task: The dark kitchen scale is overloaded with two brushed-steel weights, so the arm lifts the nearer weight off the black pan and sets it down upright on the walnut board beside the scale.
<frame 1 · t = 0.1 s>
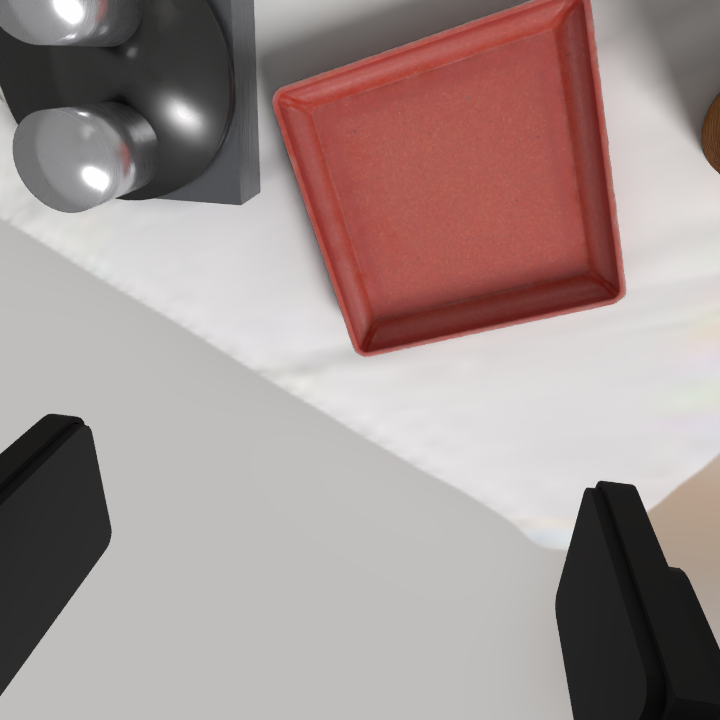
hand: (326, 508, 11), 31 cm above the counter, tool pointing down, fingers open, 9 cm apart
plant saucer: (454, 189, 39), on the counter
scale: (150, 72, 38), on the counter
steel weight b: (119, 147, 35), point 5 cm above the counter, touching scale
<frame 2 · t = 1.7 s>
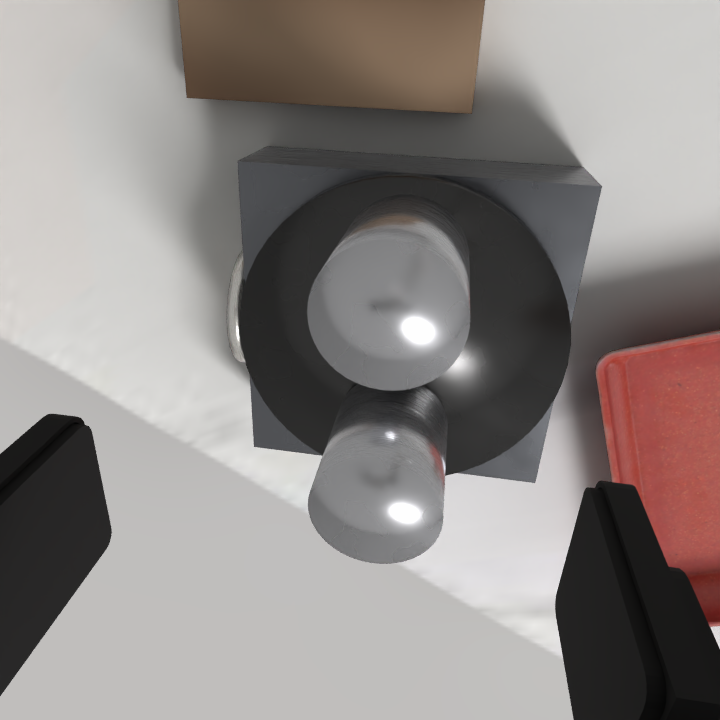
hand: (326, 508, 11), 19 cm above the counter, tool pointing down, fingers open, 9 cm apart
scale: (408, 302, 30), on the counter
steel weight b: (392, 423, 27), point 5 cm above the counter, touching scale
steel weight a: (404, 258, 23), point 5 cm above the counter, touching scale
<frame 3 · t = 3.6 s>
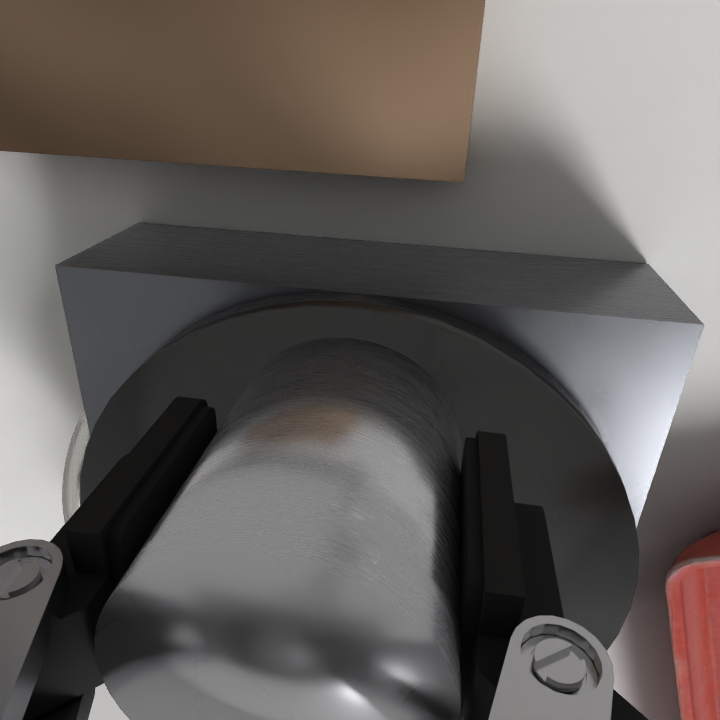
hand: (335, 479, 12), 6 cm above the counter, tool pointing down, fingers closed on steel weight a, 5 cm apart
scale: (369, 451, 19), on the counter
steel weight a: (347, 439, 13), point 5 cm above the counter, touching gripper, scale
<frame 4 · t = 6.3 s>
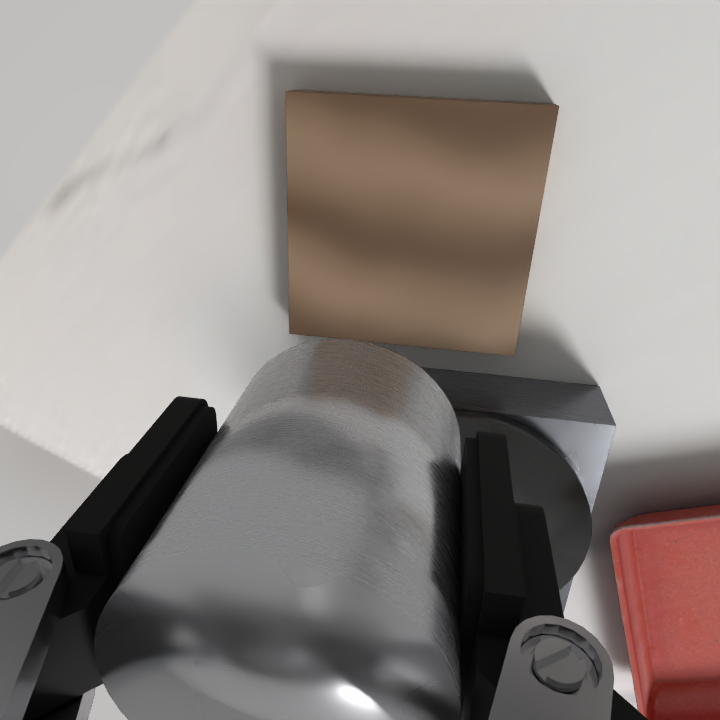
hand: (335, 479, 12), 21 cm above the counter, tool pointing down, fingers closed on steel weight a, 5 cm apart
scale: (456, 472, 37), on the counter
walnut board: (410, 225, 30), on the counter
steel weight a: (346, 440, 13), point 19 cm above the counter, touching gripper
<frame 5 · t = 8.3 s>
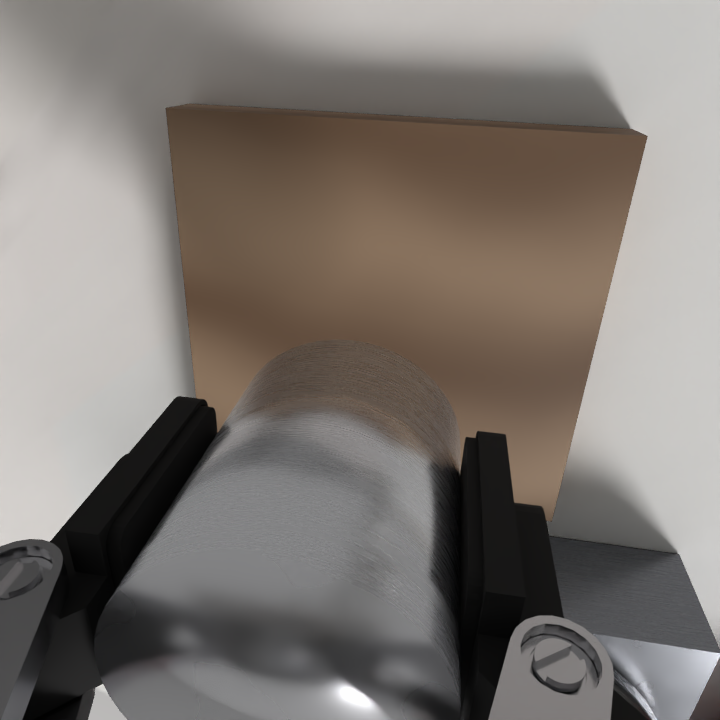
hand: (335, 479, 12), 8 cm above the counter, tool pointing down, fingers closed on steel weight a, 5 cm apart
scale: (459, 650, 25), on the counter
walnut board: (387, 319, 19), on the counter
steel weight a: (346, 441, 13), point 6 cm above the counter, touching gripper
when the fingers open (4 cm above the counter, at t = 9.5 s): steel weight a drops 1 cm, resting on walnut board.
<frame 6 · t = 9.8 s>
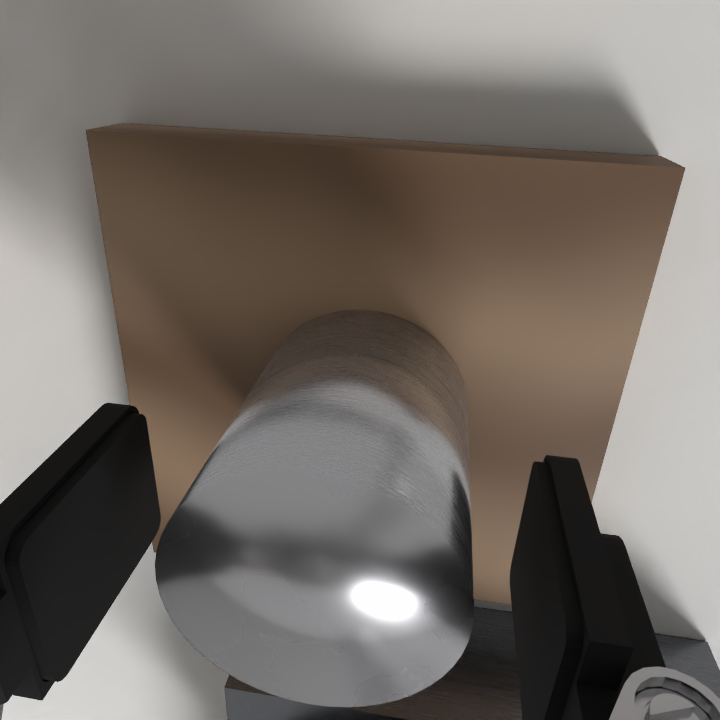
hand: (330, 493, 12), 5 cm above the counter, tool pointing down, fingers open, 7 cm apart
walnut board: (365, 376, 16), on the counter
steel weight a: (363, 404, 14), point 2 cm above the counter, touching walnut board
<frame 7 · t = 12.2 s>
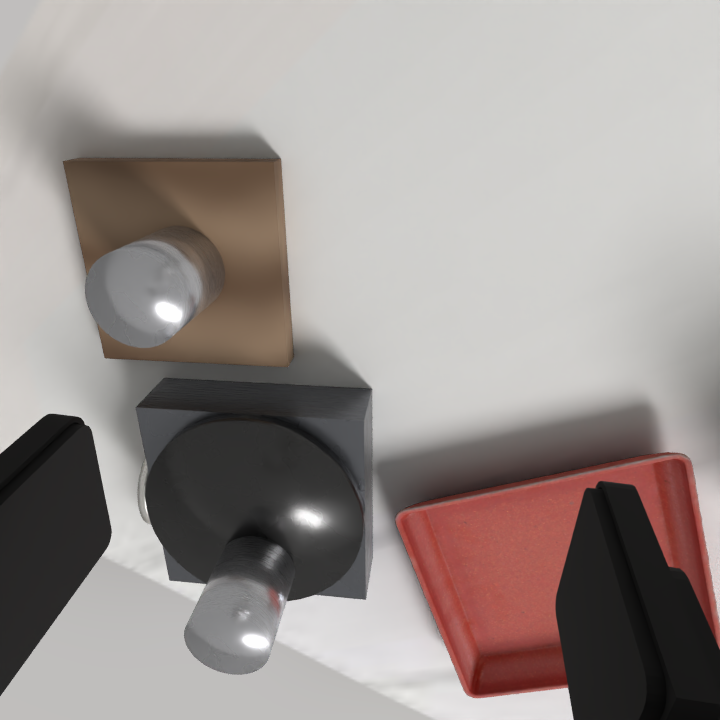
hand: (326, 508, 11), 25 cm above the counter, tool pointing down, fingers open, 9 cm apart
plant saucer: (555, 556, 42), on the counter
scale: (273, 472, 42), on the counter
steel weight b: (257, 566, 39), point 5 cm above the counter, touching scale
walnut board: (191, 262, 36), on the counter
steel weight a: (183, 268, 35), point 2 cm above the counter, touching walnut board
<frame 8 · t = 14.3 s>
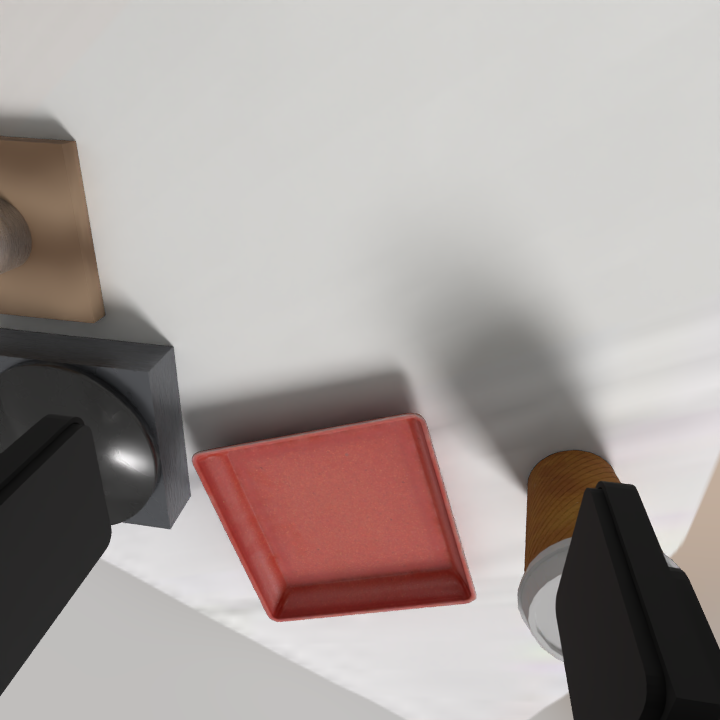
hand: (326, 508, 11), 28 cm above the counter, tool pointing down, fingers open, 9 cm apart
plant saucer: (344, 501, 49), on the counter
disposable coffee cup: (571, 483, 44), on the counter
scale: (99, 416, 48), on the counter
walnut board: (10, 227, 41), on the counter
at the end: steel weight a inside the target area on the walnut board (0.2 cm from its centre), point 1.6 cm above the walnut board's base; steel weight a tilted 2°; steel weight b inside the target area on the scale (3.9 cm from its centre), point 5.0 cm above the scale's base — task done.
